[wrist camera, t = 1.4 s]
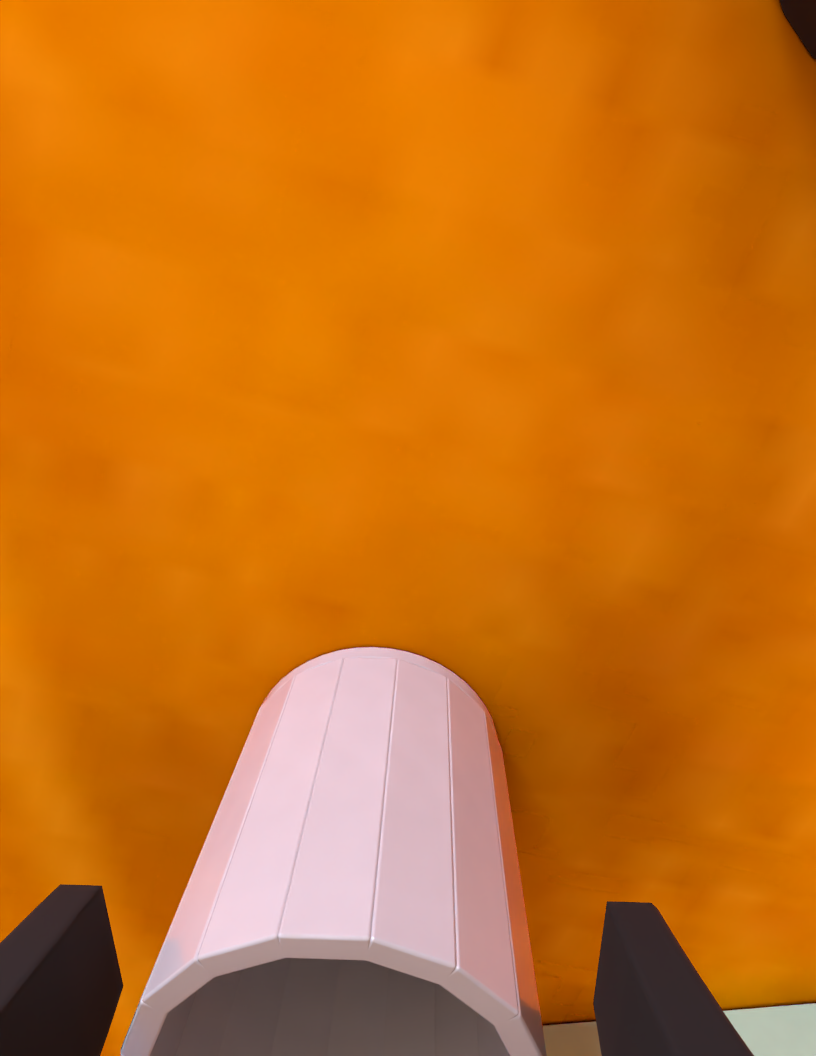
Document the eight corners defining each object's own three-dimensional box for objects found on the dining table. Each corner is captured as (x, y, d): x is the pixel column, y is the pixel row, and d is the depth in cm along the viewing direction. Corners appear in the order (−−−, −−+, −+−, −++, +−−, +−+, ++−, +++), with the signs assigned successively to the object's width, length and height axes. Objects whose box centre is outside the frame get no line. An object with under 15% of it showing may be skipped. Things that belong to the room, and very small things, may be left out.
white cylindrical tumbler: (261, 846, 14) (152, 1207, 9) (241, 643, 13) (89, 930, 7) (494, 853, 14) (533, 1225, 9) (505, 647, 13) (563, 944, 7)
